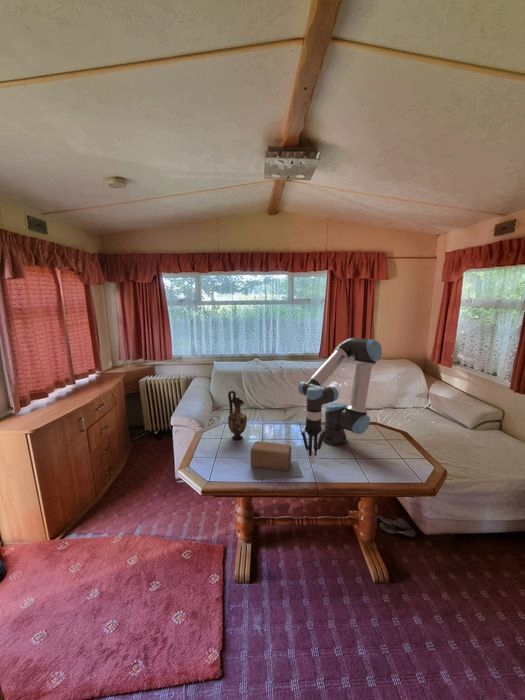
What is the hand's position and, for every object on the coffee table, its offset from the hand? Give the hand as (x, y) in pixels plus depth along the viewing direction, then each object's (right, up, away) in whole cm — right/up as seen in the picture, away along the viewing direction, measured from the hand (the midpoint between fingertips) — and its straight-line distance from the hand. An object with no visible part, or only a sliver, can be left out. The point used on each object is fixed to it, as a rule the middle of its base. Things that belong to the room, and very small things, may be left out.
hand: (312, 461), depth 148 cm
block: (-11, +2, 0) cm, 11 cm away
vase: (-41, +2, +34) cm, 54 cm away
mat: (-18, -4, -2) cm, 19 cm away
